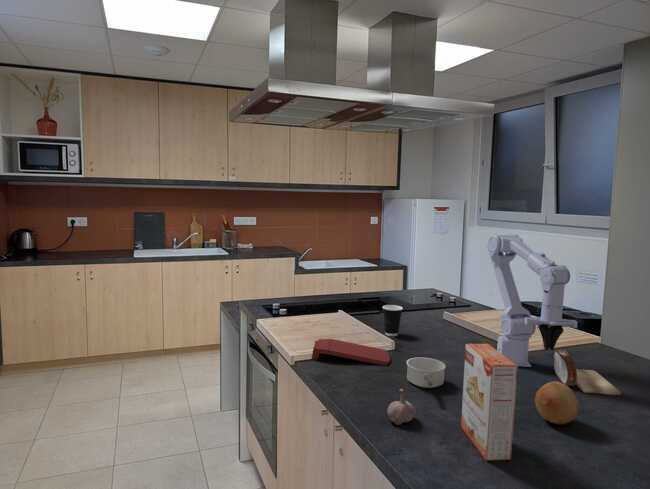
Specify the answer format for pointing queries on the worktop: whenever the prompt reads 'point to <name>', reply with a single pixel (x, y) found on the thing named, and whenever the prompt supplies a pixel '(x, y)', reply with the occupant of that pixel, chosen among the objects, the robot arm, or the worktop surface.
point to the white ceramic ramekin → (425, 372)
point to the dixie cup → (392, 319)
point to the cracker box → (489, 401)
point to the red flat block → (350, 351)
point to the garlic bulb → (401, 410)
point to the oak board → (594, 383)
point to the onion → (557, 403)
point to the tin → (565, 367)
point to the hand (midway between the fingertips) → (548, 349)
